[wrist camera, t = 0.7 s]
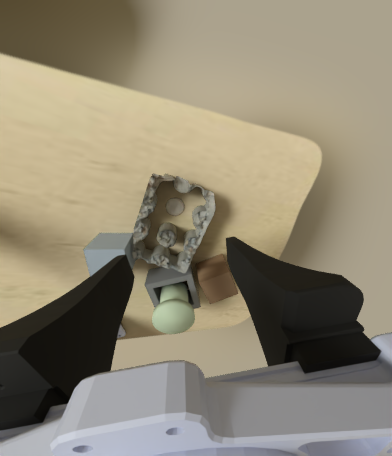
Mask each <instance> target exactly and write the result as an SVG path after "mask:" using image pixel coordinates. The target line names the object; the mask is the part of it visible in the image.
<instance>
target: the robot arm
mask: <svg viewBox="0 0 392 456" xmlns="http://www.w3.org/2000/svg"><path fill="white" fill-rule="evenodd" d="M226 246H227V261H228V264H229V267H230V270H231V273H232V275H233V277H234V279H235V281H236V283H237V285H238V287H239V289H240V291H241V293H242V295H243V297H244V300H245V302H246V304H247V307H248V309H249V312H250V315H251V317H252V320H253V323H254V326H255V328H256V331H257V334H258V337H259V340H260V343H261V346H262V348H263V352H264V355H265V358H266V361H267V364H268V367H263V368H258V369H252V370H247V371H242V372H236V373H231V374H225V375H220V376H215V377H209V378H204V374H203V372H202V371H201V370H200V368H199V367H198V366H196V364H193V363H190V362H187V361H184V360H179V361H178V360H177V361H176V360H175V361H164V362H159V363H153V364H147V365H142V366H136V367H131V368H126V369H120V370H115V371H110V370H111V365H112V359H113V355H114V350H115V345H116V340H117V338H120V337H124V336H125V334H126V332H125V330H124V329H123V327H122V325H121V321H122V318H123V315H124V312H125V309H126V306H127V303H128V300H129V297H130V294H131V291H132V288H133V282H134V274H133V271H132V269H131V266H130V263H129V261H128V258H127V255H126V254H125V255H119V256H116V257H115V258H113V259H112V260H111V261H109V262H108V263H107V264H106V265H104V266H103V267H102V268H101V269H99V270H98V271H97V272H96V273H94V274H93V275H92V276H90V277H89V278H88V279H86V280H85V281H84V282H82V283H81V284H80V285H78V286H77V287H75V288H74V289H72V290H71V291H69V292H68V293H66V294H65V295H63V296H61V297H60V298H58V299H56V300H54V301H53V302H51V303H49V304H47V305H46V306H44V307H42V308H40V309H38V310H37V311H35V312H33V313H31V314H29V315H27V316H25V317H23V318H21V319H19V320H17V321H15V322H12V323H10V324H8V325H6V326H4V327H1V328H0V456H392V332H391V333H385V334H380V335H377V336H374V337H372V338H371V339H369V338H368V337H367V336H366V335H365V334H364V333H363V331H364V328H363V326H362V325H361V324H360V323H359V322H358V321H356V320H357V317H358V315H359V312H360V310H361V308H362V305H363V301H364V298H363V293H362V292H361V290H360V289H359V288H357V287H356V286H355V285H353V284H352V283H351V282H350V281H348V280H347V279H346V278H344V277H343V276H342V275H337V274H331V273H325V272H319V271H315V270H311V269H306V268H302V267H299V266H295V265H292V264H289V263H286V262H283V261H280V260H278V259H275V258H273V257H270V256H268V255H266V254H264V253H262V252H260V251H258V250H256V249H254V248H252V247H251V246H249V245H247V244H246V243H244V242H242V241H241V240H239V239H237V238H236V237H230V238H226Z"/></svg>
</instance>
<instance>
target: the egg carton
mask: <svg viewBox="0 0 392 456" xmlns="http://www.w3.org/2000/svg"><path fill="white" fill-rule="evenodd" d="M172 180H173V184H174V187H175V189H176V190H177V191H179V192H180V193H188V192H190V191H192V190H193V188H195V187H199V188H201V192H202V195H203V197H204V198H205V200H206V204H205V205H204V206H202V205H201V206H197V207H196V208H195V209H194V210H193V212H192V218H193V224H194V226H195V228H196V230H189V231H187V232H186V233H185V235H184V251H182V252H180V253H179V254H178V255H177V256H174V255H171V254H170V252H169V249H168V247H172V246H173V245H175V243H176V240H177V229H176V227H175V226H174V225H173V224H171V223H164V224H162V225H161V226H160V227H159V230H158V234H157V241H158V242H159V244H160V245H158V246H156V247H155V248H154V249H153V250H148V249H145V245H144V243H143V242H142V241H141V240H143V239H144V238H145V237H147V235H148V233H149V230H150V227H151V223H150V220H149V219H148V218H147V217H148V216H149V214H150V213H152V212H153V211H154V208H155V207H156V203H157V196H156V194H155V191H156V189H157V187H158V186H159V184H160V183H161V182H162V181H172ZM166 210H167V212H168V213H169V214H171V215H174V216H176V215H179V214H181V213H182V212H183V210H184V203H183V201H182V200H181V199H179V198H171V199H169V200H168V201H167V203H166ZM214 212H215V199H214V193H213V192H212V191H208V190H204V189H203V188H202V186H200V185H198V184H195V183H193V184H192V185H190V184H189V183H188V181H187V180H185V179H183V178H180V177H178V176H176V178H175V179H174V178H173V176H171V175H168V174H164V176H160V175H156V174H152V176H151V177H150V180H149V183H148V186H147V189H146V192H145V196H144V199H143V202H142V205H141V208H140V211H139V214H138V218H137V221H136V224H135V227H134V234H133V253H132V256H133V258H134V259H143V260H145V261H146V262H147V263H148V264H151V263H153V264H156V265H158V266H162V267H164V268H167V269H171V268H173V269H175V270H176V271H179V272H182V273H186V271H187V269H188V267H189V265H190V263H191V261H192V258H193V255H194V254H195V253H196V249H197V248H198V247H199V245H200V243H201V240H202V238H203V236H204V234H205V232H206V229H207V227H208V225H209V223H210V221H211V219H212V217H213V215H214Z"/></svg>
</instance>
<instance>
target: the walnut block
mask: <svg viewBox="0 0 392 456" xmlns="http://www.w3.org/2000/svg"><path fill="white" fill-rule="evenodd" d="M196 267H197V274H198V280H199V284H200V286H201V288H202V290H203V292H204V294H205V296H206V297H207V299H208V301H209V303H210V304H212V303H214V302H217V301H220V300H223V299H225V298H228V297H231V296H233V295H236V294H238V291H237V289H236V286H235V284H234V281H233V279H232V276H231V273H230V271H229V269H228V266H227V264H226V262H225V259H224V257H223V255H222V254H220V255H217V256H215V257H212V258H210V259H207V260H204V261H202V262H199V263H197V264H196Z"/></svg>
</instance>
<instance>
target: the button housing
mask: <svg viewBox="0 0 392 456" xmlns="http://www.w3.org/2000/svg"><path fill="white" fill-rule="evenodd" d="M182 281H187V283H188V286H189V289H188V303H190V304H191V305H192V307H193V309H195V308H199V307H201V306H200V299H199V292H198V288H197V284H196V280H195V277H194V273H193V269H192V266H191V263H190V265H189V267H188V269H187V271H186V273H182V272H179V271H176V270H175V269H173V268H171V269H167V268H164V267H158V268H154V269H150V270H148V274H147V278H146V282H145V287H146V289H147V291H148V294H149V296H150V298H151V300H152V302H153V305H154V307H156V306H157V305H158V304H160V296H161V289H162V287H161V286H165V285H169V284H174V283H178V282H182Z"/></svg>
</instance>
